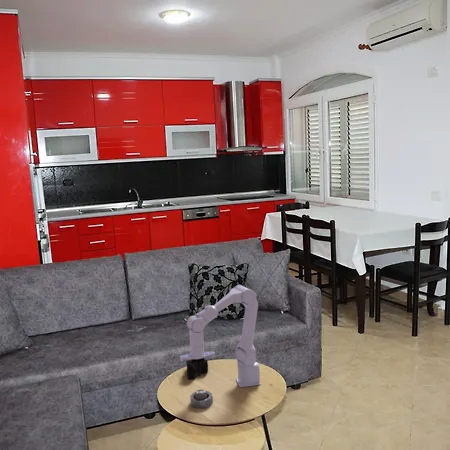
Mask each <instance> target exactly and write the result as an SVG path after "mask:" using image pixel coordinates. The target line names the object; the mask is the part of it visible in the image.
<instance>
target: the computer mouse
mask: <svg viewBox="0 0 450 450" xmlns="http://www.w3.org/2000/svg"><path fill="white" fill-rule="evenodd" d="M207 391H208V390H206V389H198V390H196V391H194V392H195V399H196V400H205V399H207Z"/></svg>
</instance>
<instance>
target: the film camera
mask: <svg viewBox="0 0 450 450" xmlns="http://www.w3.org/2000/svg"><path fill="white" fill-rule="evenodd" d="M197 360H198V359H197ZM204 360H205V362H204V365H203V367H202V370H201V374H204V373H208V371H209V363H208V359H206V358H204ZM185 363H186V375H187V380H189V381H193V380H195V379H196V377H197V372H196V369H195V367H194V365H193V363H192V360H186V361H185Z"/></svg>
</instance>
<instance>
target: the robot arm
mask: <svg viewBox="0 0 450 450" xmlns="http://www.w3.org/2000/svg"><path fill="white" fill-rule="evenodd" d="M257 296H258V295H257V293H256V292H255V291H254V290H253V289H251V288H247V287H245V286H243V285H241V284H237V285H236V286H234V287H233V288H231V289H230V290H229V292H228V293H227V294H226V295H225V296H223V297H222V298H221V299H219V301H217V302H216V303H215V304H214V305H210V304H209V305H206V306H205V307H204V308H203V309H202V310H201V311H199V312H197V313H196V314H195V315H190V316H189V317H188V319H187V322H186V323H185V324H186V327H187V328H188V329H189V330H188V331H189V333H188V334H189V348H190V353H187V354H183V355H180V356H179V358H180V362H181V363H183V362H186V361H187V360H192V363H193V365H194V367H195V369H196V372H197V374H196V377H201V376H202V373H201V370H202V367H203V365H204V362H205V360H206V359H207V358H208V359H209V358H216V352H215V351H205V345H204V344H205V343H204V329H205V328H206V326H207V324H209V323H210V322H211V321H213V320H214V319H216V318H217V317H218V314H219V312H221V311H222V310H224V309H225V308H227V307H228V306H229V307H230V305H231V304H234V303H237V304H242V305H243V306H244V307H245V309H244V315H243V316H244V317H243V323H242V324H243V325H242V328H241V329H242V330H241V331H242V332H241V335H240V336H241V337H240V342H238V343H237V345H236V348H235V350H234V358H235V359H236V362H237V378H235V380H236V382H237V384H238V387H239V388H245V387H246V388H247V387H252V386H258V385H259V386H260V385H261V379H260V378H261V377H260V376H261V375H260V373H261V372H260V366H259V362H257V354H256V353H257V349H256V348H255V346H254V339H255V331H256V323H257V318H258V309H259V303H258V299H257ZM197 359H198V360H197ZM204 359H205V360H204Z"/></svg>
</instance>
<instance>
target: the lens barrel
mask: <svg viewBox="0 0 450 450" xmlns="http://www.w3.org/2000/svg"><path fill="white" fill-rule="evenodd" d="M206 391H207V399H205V400H196V399H195V392H196V391H194V392H192V393H191V395H190V406H191V407H192V408H194V409H200V410H202V409H207V408H208V407H209V408H210V407H211V406H213V405H212V404H213V403H214V399H213V393H212V392H210V391H208V390H206Z"/></svg>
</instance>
